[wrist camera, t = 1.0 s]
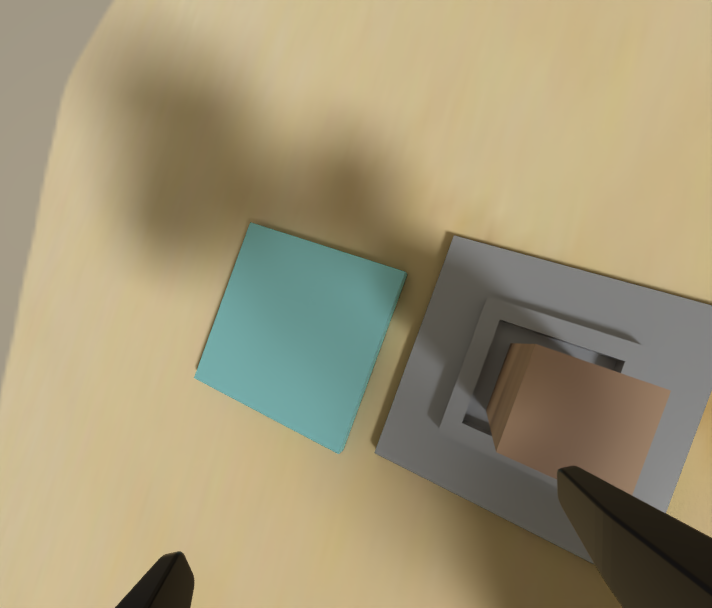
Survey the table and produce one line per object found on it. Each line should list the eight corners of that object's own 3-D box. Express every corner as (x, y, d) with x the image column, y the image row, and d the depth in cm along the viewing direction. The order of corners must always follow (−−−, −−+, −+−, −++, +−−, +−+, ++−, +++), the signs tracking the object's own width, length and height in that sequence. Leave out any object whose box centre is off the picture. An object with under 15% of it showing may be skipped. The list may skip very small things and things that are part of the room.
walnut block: (589, 371, 19) (671, 390, 11) (562, 442, 19) (626, 511, 11) (510, 343, 20) (535, 344, 12) (485, 410, 20) (495, 451, 12)
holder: (731, 314, 18) (756, 311, 16) (632, 578, 18) (648, 601, 16) (454, 238, 22) (453, 230, 21) (376, 450, 22) (369, 457, 21)
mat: (407, 274, 23) (405, 271, 22) (343, 450, 23) (338, 454, 22) (256, 225, 27) (250, 222, 26) (202, 376, 27) (194, 378, 26)
